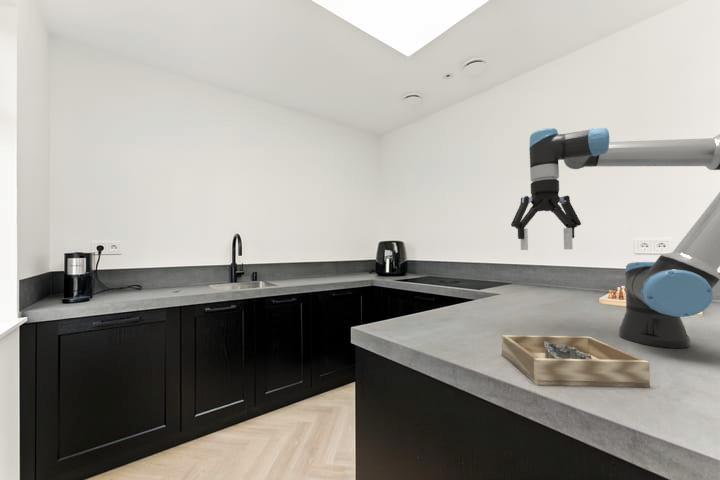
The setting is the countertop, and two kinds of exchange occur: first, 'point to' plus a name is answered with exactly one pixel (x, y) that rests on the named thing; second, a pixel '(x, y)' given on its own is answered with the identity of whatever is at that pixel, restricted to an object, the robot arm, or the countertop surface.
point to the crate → (575, 362)
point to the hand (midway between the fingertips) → (546, 249)
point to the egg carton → (563, 352)
